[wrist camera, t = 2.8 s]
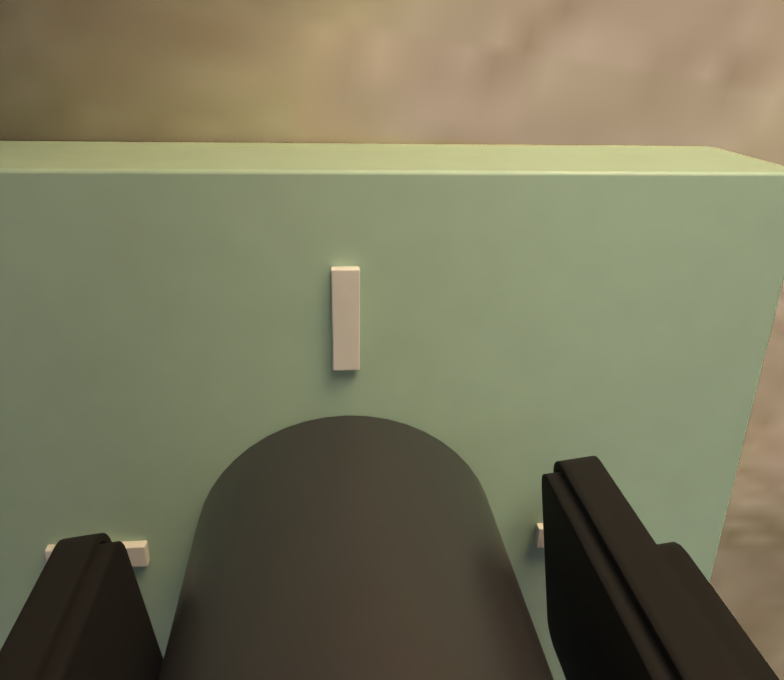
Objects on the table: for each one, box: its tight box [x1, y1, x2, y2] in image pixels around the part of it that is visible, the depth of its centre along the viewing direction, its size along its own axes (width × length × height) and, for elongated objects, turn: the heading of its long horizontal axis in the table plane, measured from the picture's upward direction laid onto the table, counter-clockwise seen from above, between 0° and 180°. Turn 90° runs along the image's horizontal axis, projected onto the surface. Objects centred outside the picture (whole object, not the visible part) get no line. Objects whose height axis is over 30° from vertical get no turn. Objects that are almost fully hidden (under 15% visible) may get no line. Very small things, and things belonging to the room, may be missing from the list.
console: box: [0, 141, 784, 680], centre depth 12 cm, size 12×11×3 cm
